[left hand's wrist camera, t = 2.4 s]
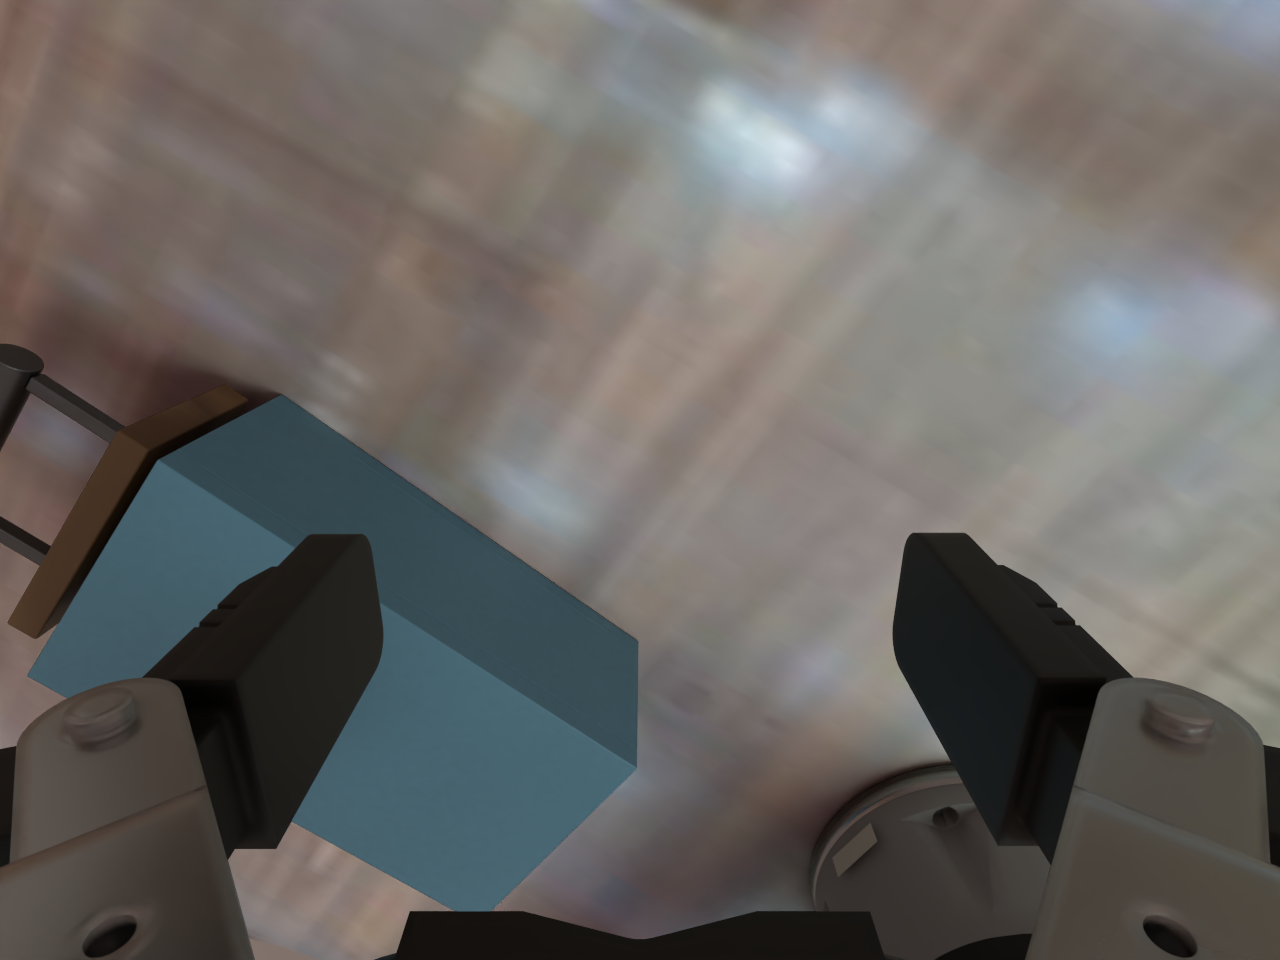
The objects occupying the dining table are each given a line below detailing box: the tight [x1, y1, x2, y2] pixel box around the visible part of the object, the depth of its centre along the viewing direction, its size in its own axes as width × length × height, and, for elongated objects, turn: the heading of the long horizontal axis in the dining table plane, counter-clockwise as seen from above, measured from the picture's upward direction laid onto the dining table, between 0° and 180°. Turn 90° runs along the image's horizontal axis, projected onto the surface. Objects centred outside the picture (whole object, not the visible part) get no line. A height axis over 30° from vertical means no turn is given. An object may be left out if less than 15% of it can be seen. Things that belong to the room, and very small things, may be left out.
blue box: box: [27, 395, 638, 911], centre depth 32 cm, size 21×11×9 cm, turn 51°
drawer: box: [0, 344, 248, 639], centre depth 31 cm, size 25×10×7 cm, turn 51°
